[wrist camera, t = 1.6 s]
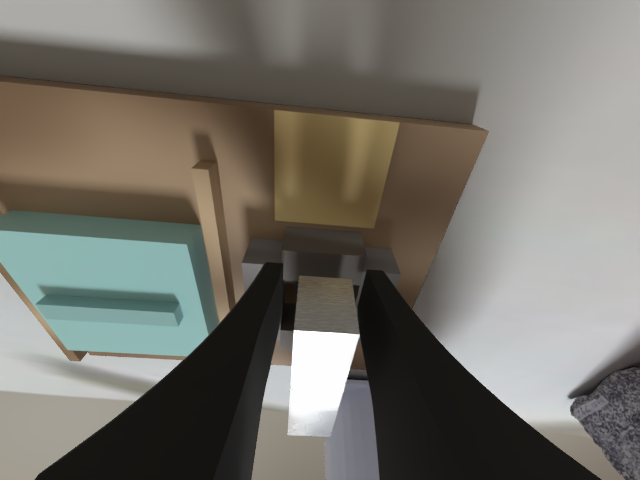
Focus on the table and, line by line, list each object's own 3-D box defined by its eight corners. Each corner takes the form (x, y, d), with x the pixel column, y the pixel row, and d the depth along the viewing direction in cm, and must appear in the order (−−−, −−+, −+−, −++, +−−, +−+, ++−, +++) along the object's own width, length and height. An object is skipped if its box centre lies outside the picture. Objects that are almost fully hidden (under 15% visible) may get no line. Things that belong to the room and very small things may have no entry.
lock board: (382, 354, 20) (390, 397, 17) (100, 339, 18) (66, 382, 16) (472, 124, 10) (519, 144, 8) (-67, 68, 9) (-205, 72, 7)
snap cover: (221, 335, 16) (210, 368, 15) (87, 327, 16) (58, 360, 14) (200, 225, 12) (180, 253, 10) (11, 210, 11) (-44, 237, 10)
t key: (332, 326, 16) (337, 437, 11) (292, 323, 16) (280, 434, 11) (351, 227, 12) (370, 335, 7) (297, 223, 12) (282, 329, 7)
